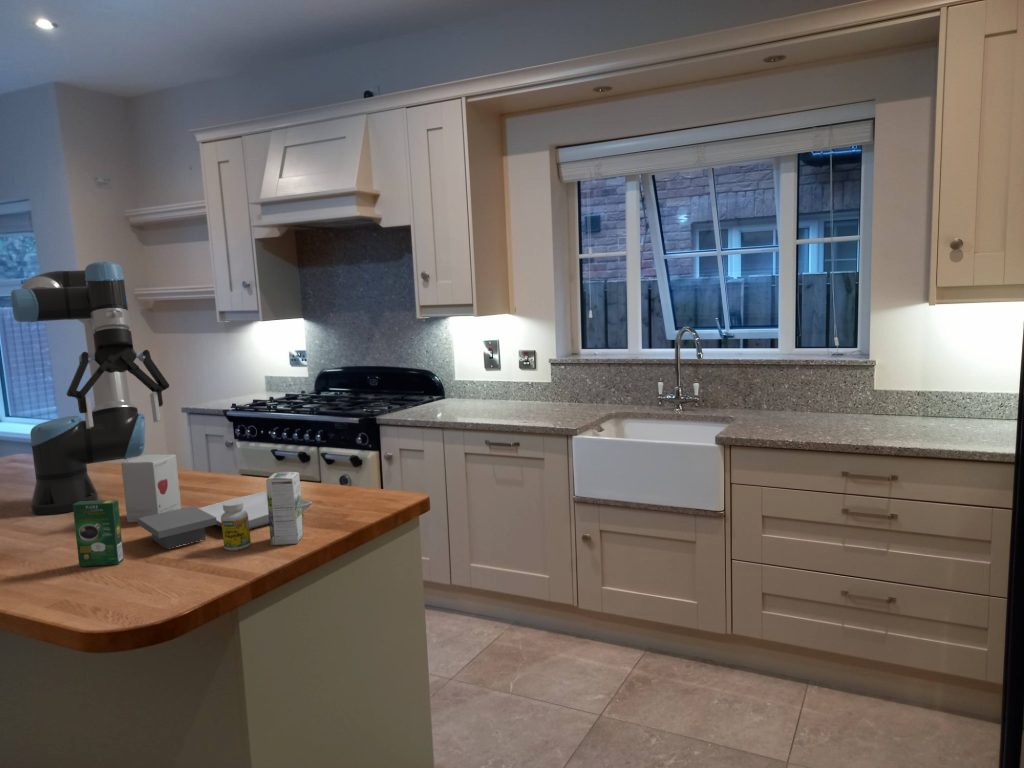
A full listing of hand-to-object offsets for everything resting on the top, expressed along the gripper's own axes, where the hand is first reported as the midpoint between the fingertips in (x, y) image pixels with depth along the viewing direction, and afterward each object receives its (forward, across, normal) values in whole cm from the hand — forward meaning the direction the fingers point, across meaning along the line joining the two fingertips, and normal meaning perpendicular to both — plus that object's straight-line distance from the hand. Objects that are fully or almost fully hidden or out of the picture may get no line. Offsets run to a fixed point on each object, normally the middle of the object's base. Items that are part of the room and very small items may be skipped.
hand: (124, 424), depth 162 cm
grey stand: (+27, +7, -2) cm, 28 cm away
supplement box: (+21, +9, +20) cm, 30 cm away
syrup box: (+32, +23, -22) cm, 45 cm away
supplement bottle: (+31, +14, -17) cm, 38 cm away
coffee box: (+29, -9, -5) cm, 31 cm away
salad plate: (+26, +25, 0) cm, 36 cm away
